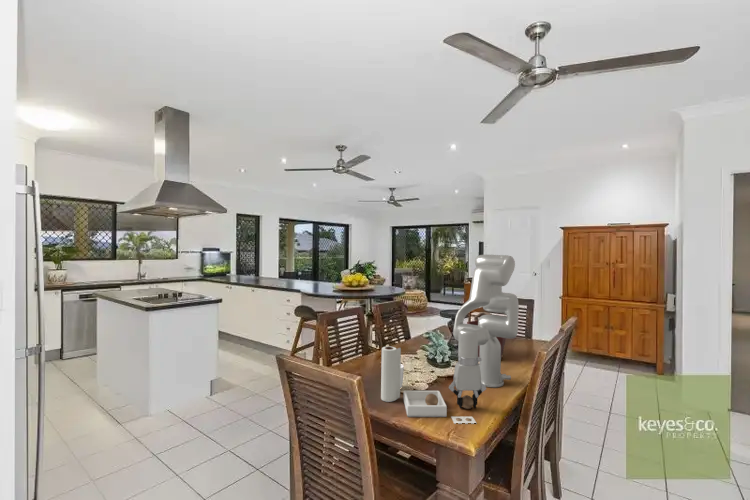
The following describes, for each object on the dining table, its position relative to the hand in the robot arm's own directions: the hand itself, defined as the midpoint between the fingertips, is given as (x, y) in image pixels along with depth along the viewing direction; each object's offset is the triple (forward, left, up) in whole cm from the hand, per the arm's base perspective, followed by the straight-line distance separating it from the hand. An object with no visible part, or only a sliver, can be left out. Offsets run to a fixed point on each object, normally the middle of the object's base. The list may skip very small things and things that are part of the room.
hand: (467, 406), depth 146 cm
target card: (+4, +10, -1) cm, 11 cm away
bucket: (-30, -67, -1) cm, 73 cm away
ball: (+14, 0, +2) cm, 14 cm away
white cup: (+27, -20, -1) cm, 34 cm away
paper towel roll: (+30, -8, -1) cm, 31 cm away
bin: (+17, 0, -1) cm, 17 cm away
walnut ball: (0, 0, +2) cm, 2 cm away
